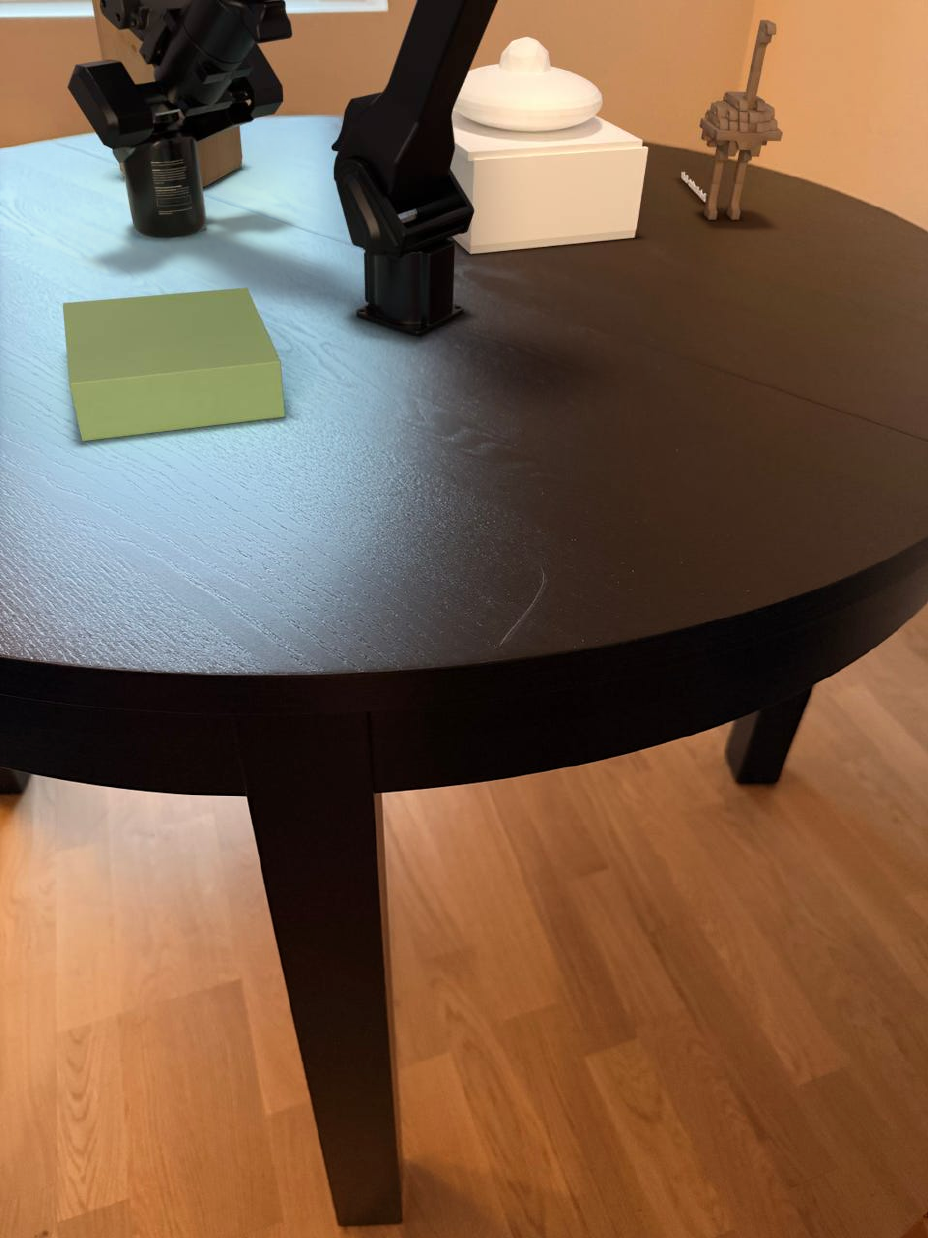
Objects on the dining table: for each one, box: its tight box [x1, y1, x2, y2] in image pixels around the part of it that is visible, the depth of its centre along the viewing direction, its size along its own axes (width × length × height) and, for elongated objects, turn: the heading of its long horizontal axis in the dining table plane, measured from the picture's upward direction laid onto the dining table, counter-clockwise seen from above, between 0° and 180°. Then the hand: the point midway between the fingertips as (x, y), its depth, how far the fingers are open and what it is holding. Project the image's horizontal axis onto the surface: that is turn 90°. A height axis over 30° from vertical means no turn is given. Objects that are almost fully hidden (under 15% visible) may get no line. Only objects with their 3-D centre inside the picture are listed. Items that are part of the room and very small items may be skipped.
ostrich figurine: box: [680, 19, 784, 221], centre depth 102 cm, size 17×7×18 cm, turn 7°
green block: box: [62, 287, 286, 442], centre depth 69 cm, size 13×13×4 cm
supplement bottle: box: [122, 83, 207, 239], centre depth 91 cm, size 7×7×12 cm
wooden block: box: [91, 0, 244, 188], centre depth 102 cm, size 10×10×20 cm
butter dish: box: [450, 36, 649, 255], centre depth 96 cm, size 18×18×16 cm
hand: (150, 150), depth 91 cm, fingers closed on supplement bottle, 7 cm apart
